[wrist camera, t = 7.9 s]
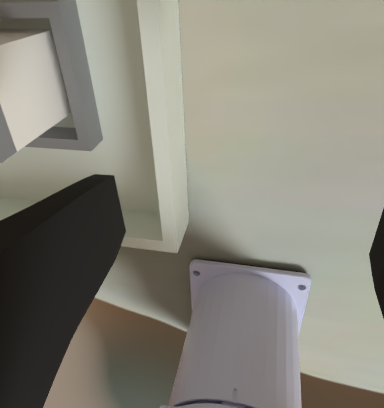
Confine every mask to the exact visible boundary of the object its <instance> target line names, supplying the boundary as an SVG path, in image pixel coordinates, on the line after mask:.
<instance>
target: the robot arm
mask: <svg viewBox="0 0 384 408" xmlns="http://www.w3.org/2000/svg"><path fill="white" fill-rule="evenodd" d="M125 233H126V228H125V224H124V219H123V214H122V210H121V205H120V200H119V196H118V191H117V186H116V182H115V177H114V175H101V174H94V175H91V176H89V177H86V178H84V179H82V180H80V181H78V182H76V183H74V184H72V185H70V186H68V187H66V188H64V189H62V190H60V191H58V192H56V193H54V194H52V195H50V196H48V197H47V198H45V199H43V200H41V201H39V202H37V203H35V204H33V205H31V206H29V207H27V208H25V209H23V210H21V211H19V212H17V213H15V214H13V215H11V216H9V217H7V218H5V219H3V220H0V408H43V406H44V403H45V401H46V398H47V396H48V393H49V391H50V388H51V386H52V383H53V381H54V378H55V376H56V374H57V371H58V369H59V367H60V364H61V362H62V360H63V357H64V355H65V353H66V350H67V348H68V346H69V344H70V341H71V339H72V337H73V335H74V333H75V331H76V329H77V327H78V325H79V323H80V322H81V320H82V318H83V316H84V315H85V313H86V311H87V309H88V307H89V306H90V304H91V302H92V301H93V299H94V297H95V295H96V294H97V292H98V290H99V288H100V286H101V285H102V283H103V281H104V279H105V278H106V276H107V274H108V272H109V270H110V268H111V267H112V265H113V263H114V261H115V259H116V257H117V254H118V252H119V249H120V247H121V244H122V241H123V238H124V236H125ZM369 256H370V263H371V270H372V276H373V282H374V288H375V292H376V295H377V299H378V302H379V305H380V308H381V311H382V315H383V318H384V209H383V212H382V215H381V218H380V222H379V225H378V228H377V231H376V234H375V237H374V241H373V244H372V247H371V250H370V253H369ZM189 271H190V289H191V308H192V317H191V321H190V325H189V328H188V332H187V336H186V340H185V344H184V348H183V352H182V356H181V360H180V364H179V368H178V371H177V375H176V379H175V383H174V388H173V391H172V395H171V399H170V403H169V406H164V405H161V406H160V408H301V385H300V362H299V339H298V335H299V331H300V327H301V323H302V319H303V315H304V310H305V306H306V302H307V298H308V294H309V290H310V285H311V277H310V276H309V275H308V274H306V273H301V272H293V271H285V270H277V269H269V268H261V267H254V266H246V265H238V264H230V263H222V262H214V261H206V260H198V259H194V260H192V261H191V262H190V266H189ZM196 271H199V272H196ZM300 285H304V286H300Z"/></svg>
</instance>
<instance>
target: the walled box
mask: <svg viewBox="0 0 384 408" xmlns="http://www.w3.org/2000/svg"><path fill="white" fill-rule="evenodd" d="M0 29H52V33H53V38H54V42H55V46H56V50H57V54H58V58H59V62H60V66H61V71H62V75H63V79H64V83H65V87H66V91H67V95H68V100H69V104H70V108H71V112H72V113H71V114H69V115H68V116H67V117H65V118H64V119H62V120H61V121H60V122H58V123H57V124H55V125H54V126H53V127H51V128H50V129H48V130H47V131H46V132H44V133H43V134H41V135H40V136H39V137H37V138H36V139H34V140H33V141H32V142H30V143H29V144H27V145H26V146H25V147H23V148H22V149H20V150H19V151H18V152H16V153H15V154H13V155H12V156H11V157H9V158H8V159H6V160H5V161H4V162H2V163H0V220H3V219H5V218H7V217H9V216H11V215H13V214H15V213H17V212H19V211H21V210H23V209H25V208H27V207H29V206H31V205H33V204H35V203H37V202H39V201H41V200H43V199H45V198H47V197H48V196H50V195H52V194H54V193H56V192H58V191H60V190H62V189H64V188H66V187H68V186H70V185H72V184H74V183H76V182H78V181H80V180H82V179H84V178H86V177H89V176H91V175H94V174H101V175H114V177H115V182H116V186H117V191H118V196H119V200H120V205H121V210H122V214H123V219H124V224H125V228H126V233H125V236H124V238H123V241H122V244H121V246H122V247H130V248H138V249H146V250H154V251H162V252H170V253H178V251H179V248H180V245H181V243H182V240H183V237H184V234H185V231H186V229H187V226H188V223H189V210H188V190H187V170H186V149H185V129H184V109H183V89H182V68H181V48H180V28H179V7H178V0H0Z"/></svg>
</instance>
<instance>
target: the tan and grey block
mask: <svg viewBox="0 0 384 408" xmlns="http://www.w3.org/2000/svg"><path fill="white" fill-rule="evenodd" d="M71 113H72V112H71V108H70V104H69V100H68V95H67V91H66V87H65V83H64V79H63V75H62V71H61V66H60V62H59V58H58V54H57V50H56V46H55V42H54V38H53V33H52V29H0V163H2V162H4V161H5V160H6V159H8V158H9V157H11V156H12V155H13V154H15V153H16V152H18V151H19V150H20V149H22V148H23V147H25V146H26V145H27V144H29V143H30V142H32V141H33V140H34V139H36V138H37V137H39V136H40V135H41V134H43V133H44V132H46V131H47V130H48V129H50V128H51V127H53V126H54V125H55V124H57V123H58V122H60V121H61V120H62V119H64V118H65V117H67V116H68V115H69V114H71Z"/></svg>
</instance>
